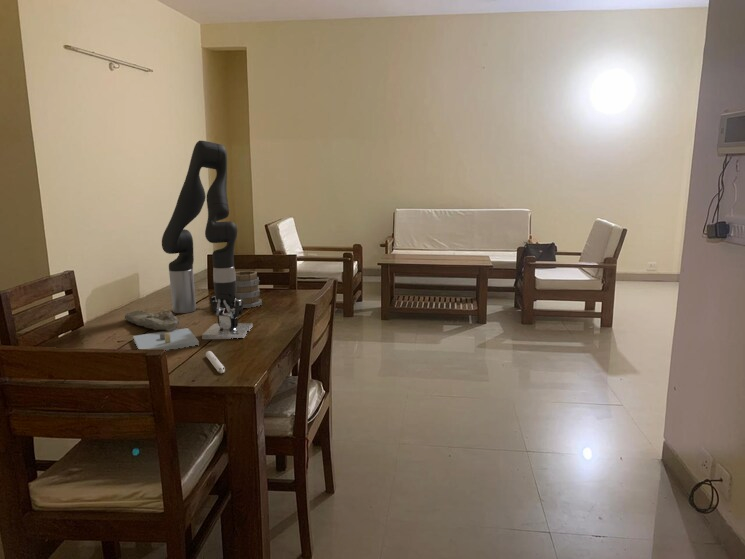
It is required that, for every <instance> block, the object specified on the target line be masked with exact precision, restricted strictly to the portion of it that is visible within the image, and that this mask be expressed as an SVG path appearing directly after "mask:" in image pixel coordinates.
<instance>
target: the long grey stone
mask: <svg viewBox="0 0 745 559" xmlns="http://www.w3.org/2000/svg"><path fill="white" fill-rule="evenodd" d="M125 319H126V320H125ZM124 320H125V321H127V322H130V323H131V324H135V325H137V326H140V327H144V328H147V329H152V330H154V331H159V330H160V331H161V330H163V331H164V330H165V331H169V330H172V329H173V330H174V329H176V328H178V326H179V319H178V317H177V316H175V315H174V314H173V311H170V310H168V311H162V312H161V311H160V312H159V313H151V312H146V311H142V310H136V311H135V310H133V311H130V312H127V313H125V315H124Z"/></svg>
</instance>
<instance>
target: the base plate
mask: <svg viewBox="0 0 745 559" xmlns="http://www.w3.org/2000/svg"><path fill="white" fill-rule="evenodd" d="M132 338H133V339H134V340H133V343H134V344H136V345H135V346H137V347H136V348H138V349H165V350H166V351H170V350H169V349H174V350H179V349H178V348H180V349H185V348H184V347H186V348H190V347H189V346H192V347H196V346H195V345H198V346H200V341H199V340H198V338H197V337H196V336H195V335H194V333H193V332H192V331H191V329H189V328H188V327H186V328H179V329H173V330H172V329H170V330H165V331H164V330H163V331H158V332H152V333H145V334H138V335H132ZM138 349H137V350H138ZM166 351H165V352H166Z"/></svg>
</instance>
